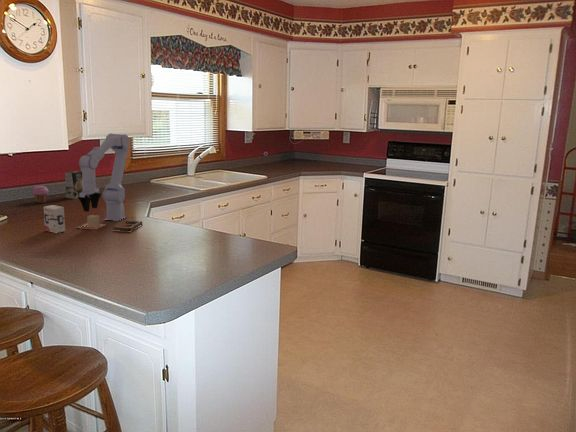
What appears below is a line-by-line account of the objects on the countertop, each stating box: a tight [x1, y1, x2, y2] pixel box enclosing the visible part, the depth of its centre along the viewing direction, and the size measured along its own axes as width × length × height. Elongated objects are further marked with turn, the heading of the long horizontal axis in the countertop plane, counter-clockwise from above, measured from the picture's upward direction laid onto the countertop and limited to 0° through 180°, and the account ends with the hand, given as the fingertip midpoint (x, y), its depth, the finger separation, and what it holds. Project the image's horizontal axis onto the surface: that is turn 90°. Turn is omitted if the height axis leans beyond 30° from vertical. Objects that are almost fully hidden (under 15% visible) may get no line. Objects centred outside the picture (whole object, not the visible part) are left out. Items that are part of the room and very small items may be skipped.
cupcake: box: [31, 185, 50, 204], centre depth 278 cm, size 9×9×10 cm
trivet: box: [77, 222, 107, 230], centre depth 228 cm, size 10×10×1 cm
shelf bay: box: [112, 220, 143, 231], centre depth 229 cm, size 14×8×2 cm, turn 174°
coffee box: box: [64, 170, 83, 200], centre depth 297 cm, size 9×6×16 cm
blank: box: [86, 214, 101, 228], centre depth 227 cm, size 4×4×5 cm
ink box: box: [43, 204, 66, 234], centre depth 216 cm, size 8×5×12 cm, turn 60°
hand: (90, 209), depth 226 cm, fingers open, 7 cm apart
